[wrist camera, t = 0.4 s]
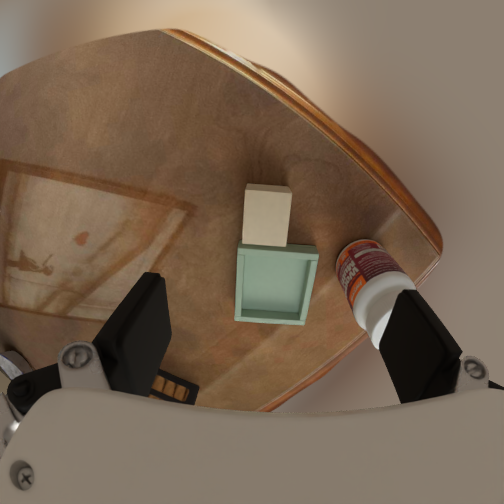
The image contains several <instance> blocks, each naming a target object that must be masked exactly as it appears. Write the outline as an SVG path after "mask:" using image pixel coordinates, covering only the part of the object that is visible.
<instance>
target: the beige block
mask: <svg viewBox="0 0 504 504" xmlns="http://www.w3.org/2000/svg"><path fill="white" fill-rule="evenodd" d="M291 199H292V192H291V190H290V188H289V187H286V186H275V185H263V184H249V183H247V186H246V189H245V200H244V217H243V235H242V244H254V245H267V246H280V247H286V242H287V234H288V226H289V217H290V208H291Z"/></svg>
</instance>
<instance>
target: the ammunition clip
mask: <svg viewBox="0 0 504 504" xmlns="http://www.w3.org/2000/svg"><path fill="white" fill-rule="evenodd" d="M163 387H164V388H163ZM174 389H175V391H174ZM162 390H163V391H162ZM198 391H199V386H197V385H195V384H192V383H190V382H187V381H185V380H183V379H180V378H178V377H176V376H174V375H171V374H169V373H167V372H165V371H163V370H161V369H158V372H157V374H156V377H155V379H154V382H153V385H152V388H151V389H150V392H149V395H148V398H153V399H158V400H163V401H169V402H175V403H181V404H187V405H194V404H195V401H196V397H197V394H198ZM173 393H174V394H173ZM184 395H185V396H184ZM172 396H173V397H172ZM183 399H184V400H183Z"/></svg>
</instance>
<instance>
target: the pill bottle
mask: <svg viewBox="0 0 504 504" xmlns="http://www.w3.org/2000/svg"><path fill="white" fill-rule="evenodd" d="M336 274H337V277H338V280H339V282H340V284H341V286H342V289H343V291H344V293H345V295H346V298H347V300H348V302H349V305H350V307H351V309H352V312H353V315H354V317H355V319H356V321H357V323H358V324H359V325H360V327H362V328H363V329H364V330H366V331H367V333H368V335H369V337H370V339H371V341H372V343H373V345H374V346H375V347H376V348H377V349H378V350H379V342H380V340H381V337H382V335H383V332H384V330H385V328H386V325H387V323H388V320H389V317H390V315H391V312H392V309H393V307H394V304H395V301H396V298H397V296H398V294H399V293H401V292H402V290H404V289H414V290H416V288H415V285H414V283H413V282H412V280H411V279H410V278H409V277H408V275H407V274H406V273H405V272H404V271H403V269H402V268H401V267H400V266H399V265H398V264H397V262H396V261H395V260H394V259H393V258H392V257H391V256H390V254H389V253H388V252H387V251H386V250H385V249H384V248H383V247H382V246H381V245H380V244H379V243H377V242H375V241H373V240H368V239H362V240H357V241H354V242H352V243H350V244H349V245H347V246H346V247H345V248H344V249H343V250H342V252H341V253H340V255H339V257H338V259H337V262H336Z"/></svg>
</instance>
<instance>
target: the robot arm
mask: <svg viewBox="0 0 504 504" xmlns="http://www.w3.org/2000/svg"><path fill="white" fill-rule="evenodd" d="M171 335H172V331H171V324H170V317H169V310H168V302H167V294H166V285H165V279H164V278H163V277H161V276H160V274H159V273H151V272H145V273H144V274H143V275H142V276H141V278H140V279H139V280H138V281H137V283H136V284H135V285H134V286H133V288H132V289H131V290H130V292H129V293H128V294H127V296H126V297H125V298H124V299H123V301H122V302H121V303H120V304H119V306H118V307H117V308H116V310H115V311H114V312H113V314H112V315H111V316H110V318H109V319H108V320H107V322H106V323H105V325H104V326H103V327H102V329H101V330H100V332H99V333H98V334H97V336H96V337H95V339H94V340H93V342H92V343H90V342H87V341H74V342H71V343H69V344H67V345H66V346H64V347H63V348H62V349H61V351H60V352H59V355H58V363H56V364H53V365H50V366H47V367H44V368H41V369H38V370H35V371H31V372H28V373H25V374H22V375H19V376H17V377H15V378H14V379H13V380H12V381H11V382H10V384H9V386H8V389H7V394H6V395H4V393H3V392H2V393H1V394H0V504H504V387H502V386H500V385H498V384H496V383H494V382H492V381H490V380H489V373H488V369H487V367H486V365H485V364H484V363H483V362H482V361H481V360H480V359H478V358H476V357H473V356H466V357H464V358H463V359H462V360H461V361H460V359H459V357H460V355H461V353H462V350H461V349H460V347H459V346H458V344H457V343H456V341H455V340H454V338H453V337H452V336H451V334H450V333H449V331H448V330H447V329H446V327H445V326H444V325H443V323H442V322H441V321H440V319H439V318H438V317H437V315H436V314H435V313H434V311H433V310H432V309H431V308H430V306H429V305H428V304H427V302H426V301H425V300H424V299H423V297H422V296H421V295H420V294H419V292H418V291H417V290H414V289H404V290H402V292H401V293H399V294H398V296H397V298H396V301H395V304H394V307H393V309H392V312H391V315H390V317H389V320H388V323H387V325H386V328H385V330H384V332H383V335H382V337H381V340H380V342H379V351H380V353H381V355H382V358H383V360H384V362H385V365H386V367H387V369H388V372H389V374H390V377H391V379H392V382H393V384H394V387H395V389H396V392H397V394H398V397H399V400H400V402H401V404H398V405H392V406H385V407H377V408H369V409H360V410H350V411H336V412H317V413H315V412H314V413H273V412H251V411H237V410H226V409H217V408H208V407H201V406H194V405H187V404H181V403H175V402H169V401H163V400H158V399H153V398H148V395H149V392H150V389H151V387H152V384H153V382H154V379H155V377H156V374H157V372H158V369H159V367H160V364H161V362H162V359H163V357H164V354H165V352H166V350H167V347H168V345H169V342H170V340H171Z"/></svg>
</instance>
